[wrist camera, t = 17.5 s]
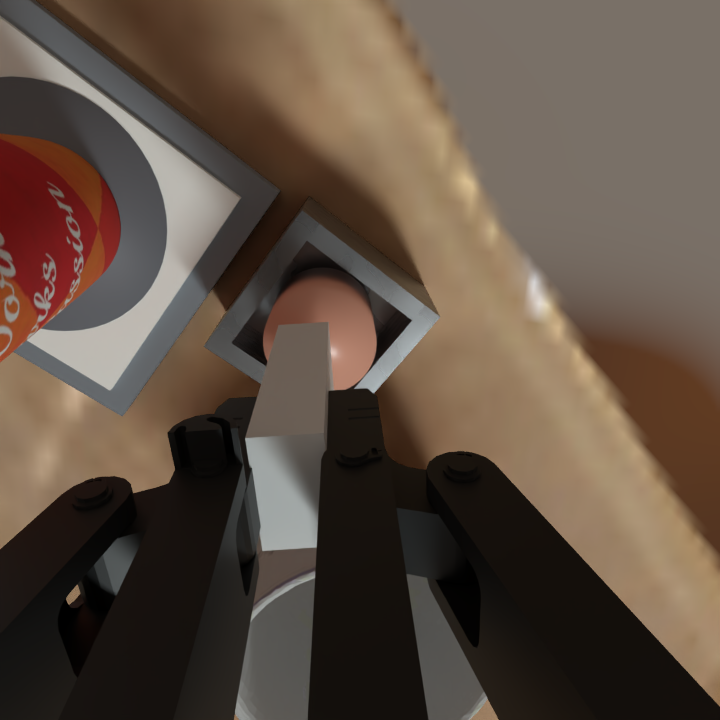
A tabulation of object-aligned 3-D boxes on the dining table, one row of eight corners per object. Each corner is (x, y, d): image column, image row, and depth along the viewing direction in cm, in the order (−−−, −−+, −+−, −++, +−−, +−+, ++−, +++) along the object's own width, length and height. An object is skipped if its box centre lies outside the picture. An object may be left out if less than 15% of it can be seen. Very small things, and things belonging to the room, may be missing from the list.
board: (-168, 229, 22) (-194, 235, 21) (-44, -61, 18) (-68, -73, 17) (128, 407, 25) (119, 420, 24) (280, 190, 22) (277, 193, 21)
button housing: (225, 312, 23) (203, 346, 20) (309, 196, 22) (302, 210, 18) (338, 389, 25) (337, 434, 21) (425, 286, 23) (440, 317, 20)
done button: (254, 324, 21) (240, 354, 19) (312, 246, 20) (307, 265, 18) (333, 379, 22) (331, 414, 20) (392, 307, 21) (399, 334, 19)
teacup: (281, 422, 26) (256, 540, 18) (498, 476, 27) (555, 606, 20) (221, 634, 31) (182, 794, 23) (406, 670, 32) (425, 831, 25)
